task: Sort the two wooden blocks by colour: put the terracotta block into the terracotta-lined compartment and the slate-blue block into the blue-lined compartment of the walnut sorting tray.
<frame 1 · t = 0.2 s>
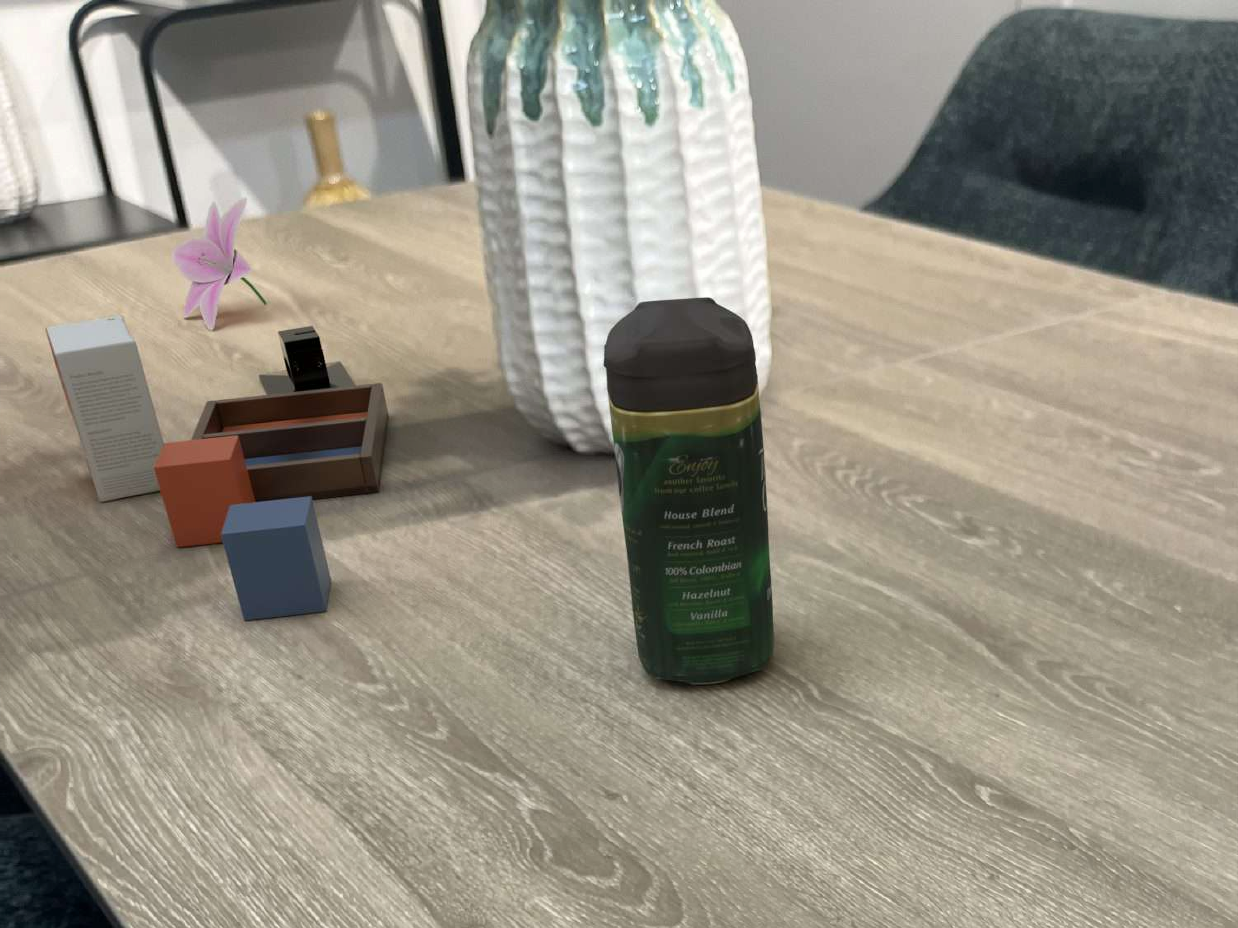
coffee jar: (708, 656, 98), on the table
terracotta block: (218, 530, 118), on the table
small box: (133, 482, 128), on the table
blue block: (288, 600, 108), on the table
lily: (228, 316, 164), on the table
sorting tray: (292, 461, 129), on the table
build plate: (311, 392, 143), on the table
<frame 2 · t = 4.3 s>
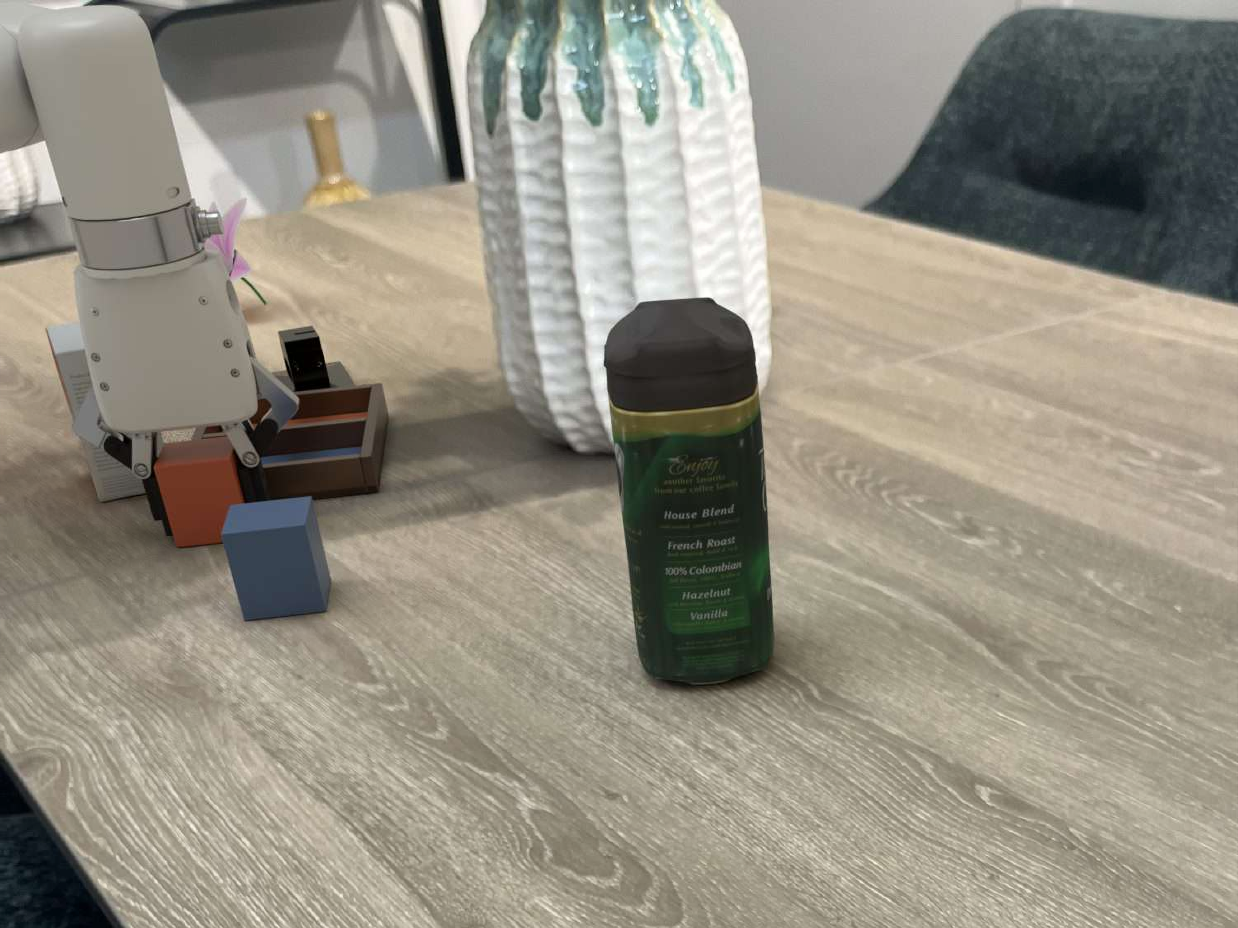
hand: (215, 521, 118), 1 cm above the table, tool pointing down, fingers closed on terracotta block, 5 cm apart
terracotta block: (218, 530, 118), on the table, touching gripper
everything else where it was.
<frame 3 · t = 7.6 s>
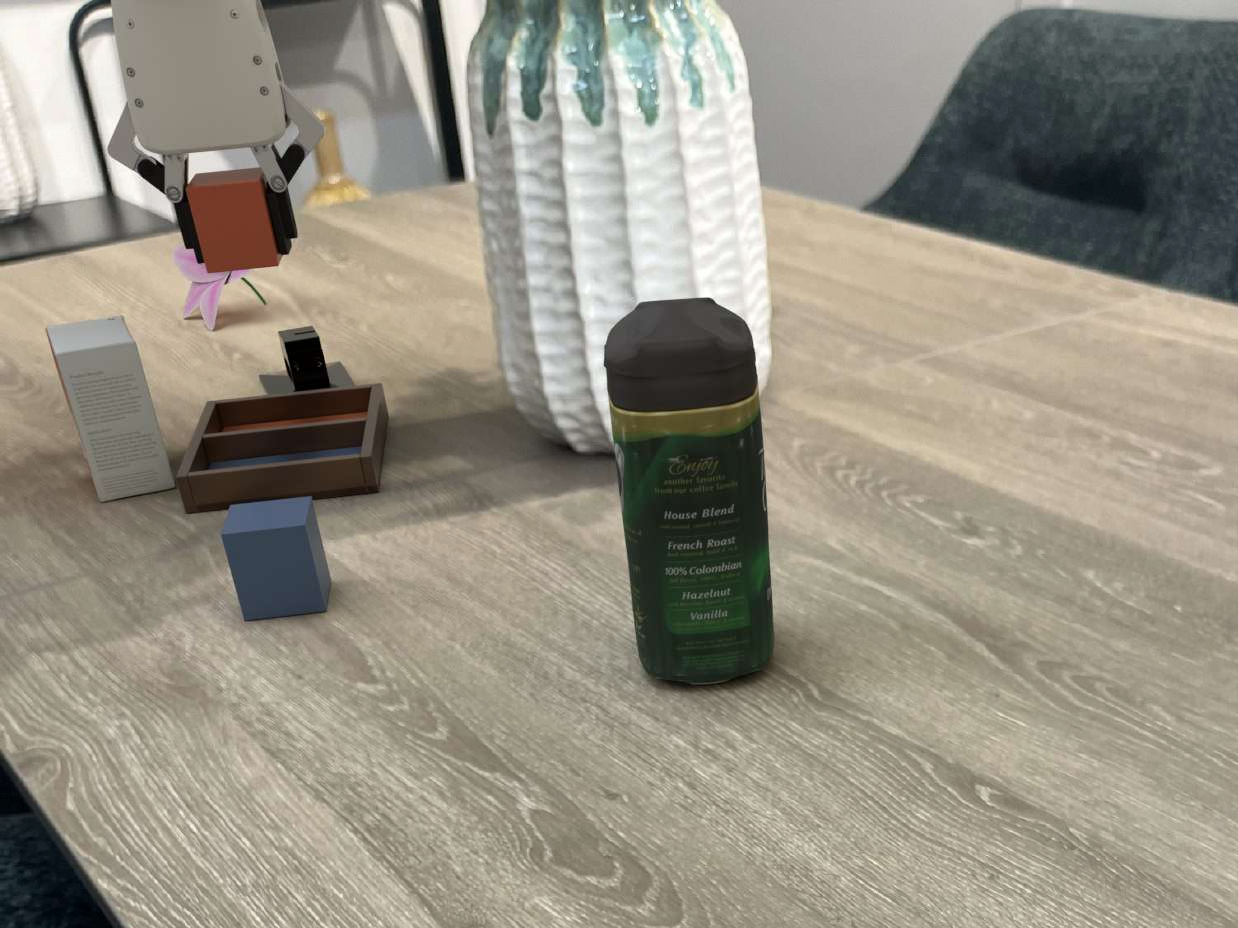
hand: (244, 251, 122), 14 cm above the table, tool pointing down, fingers closed on terracotta block, 5 cm apart
terracotta block: (247, 261, 122), point 13 cm above the table, touching gripper
everything else where it was.
when the fingers open (1 cm above the table, at t = 10.9 s): terracotta block stays where it is, resting on sorting tray.
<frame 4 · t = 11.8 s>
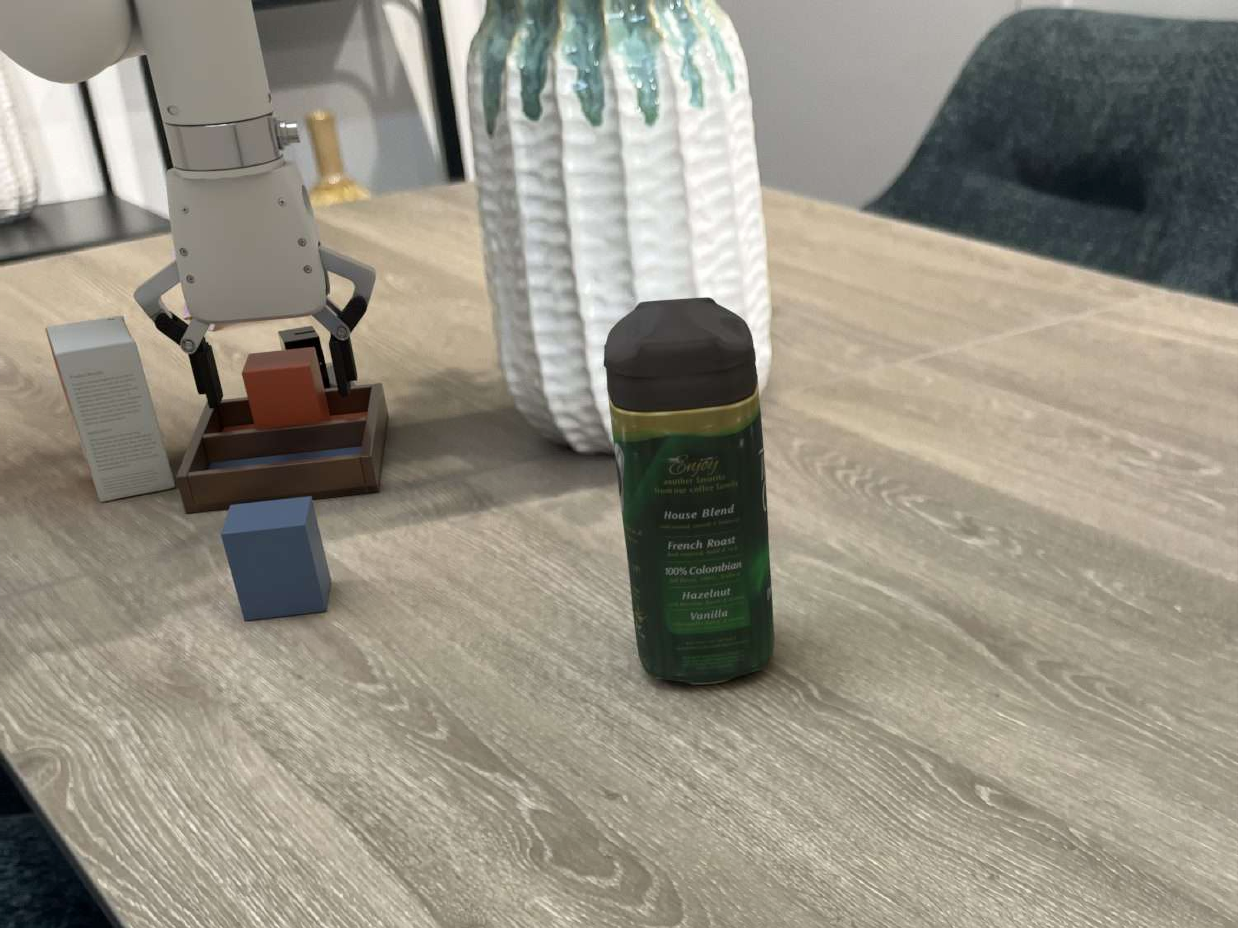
hand: (281, 397, 130), 4 cm above the table, tool pointing down, fingers open, 9 cm apart
terracotta block: (296, 433, 131), point 1 cm above the table, touching sorting tray
everything else where it was.
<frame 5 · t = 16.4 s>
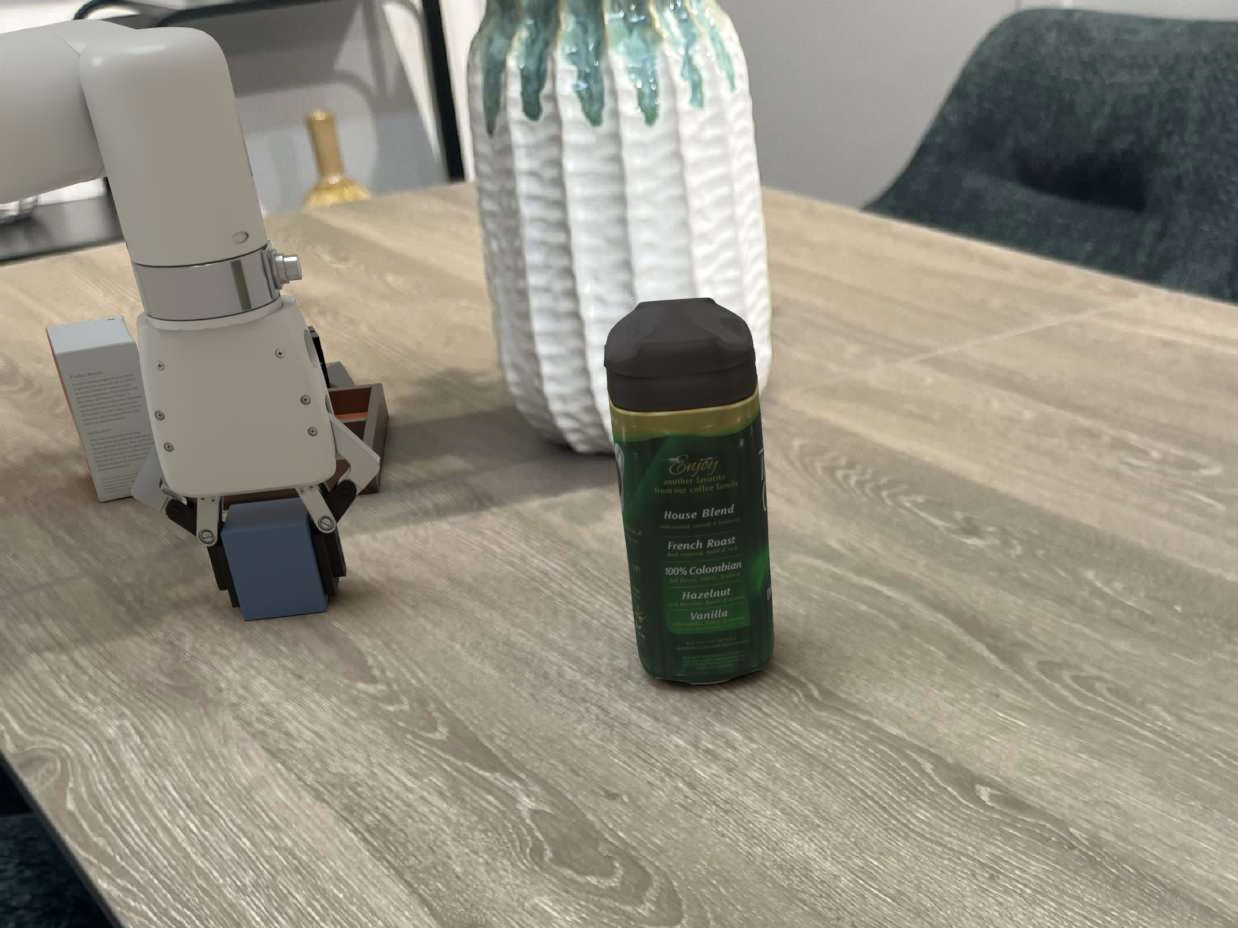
hand: (286, 590, 107), 1 cm above the table, tool pointing down, fingers closed on blue block, 5 cm apart
blue block: (288, 600, 108), on the table, touching gripper
everything else where it was.
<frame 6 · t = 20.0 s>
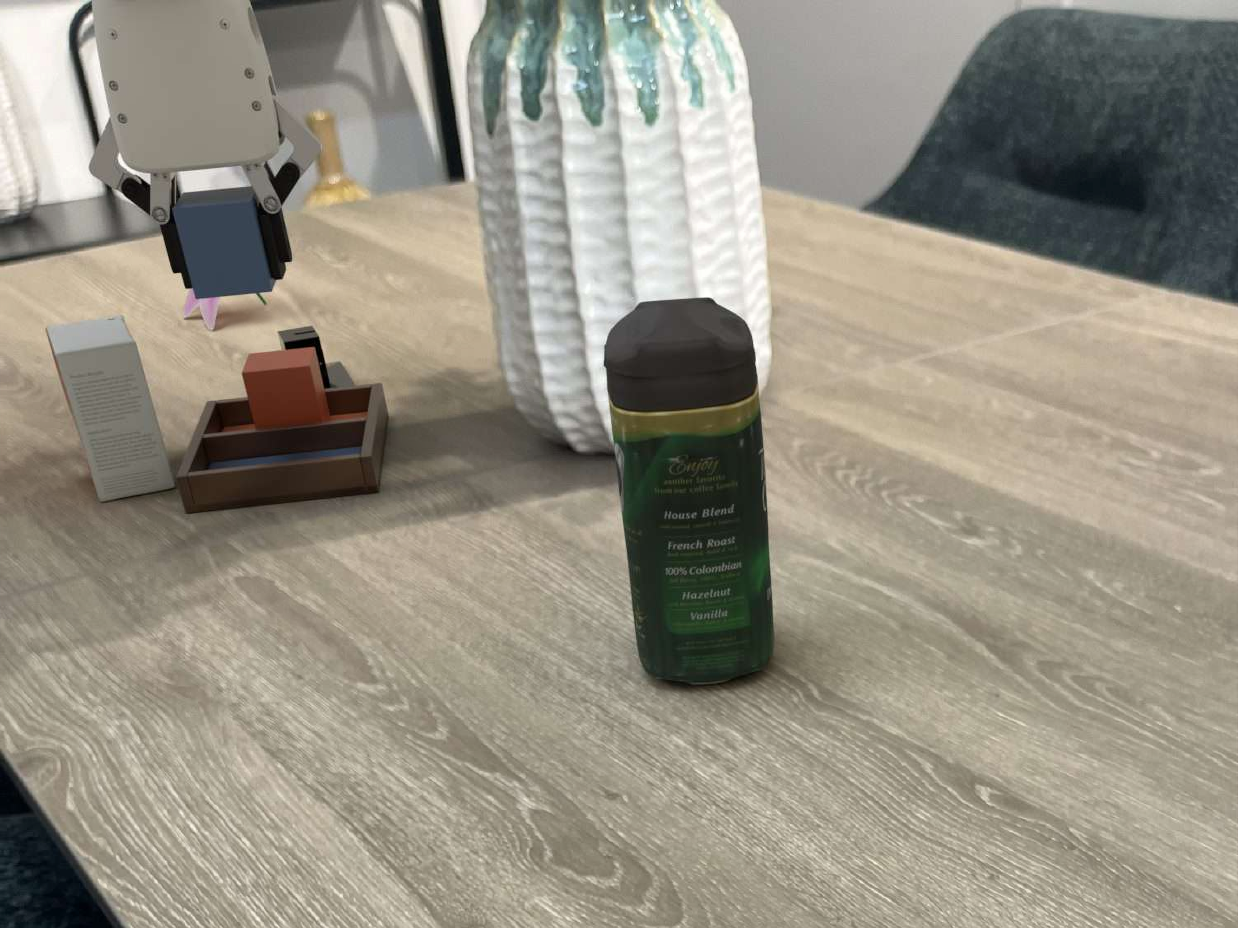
hand: (235, 276, 115), 15 cm above the table, tool pointing down, fingers closed on blue block, 5 cm apart
blue block: (238, 286, 115), point 14 cm above the table, touching gripper
everything else where it was.
when the fingers open (1 cm above the table, at t = 23.5 s): blue block stays where it is, resting on sorting tray.
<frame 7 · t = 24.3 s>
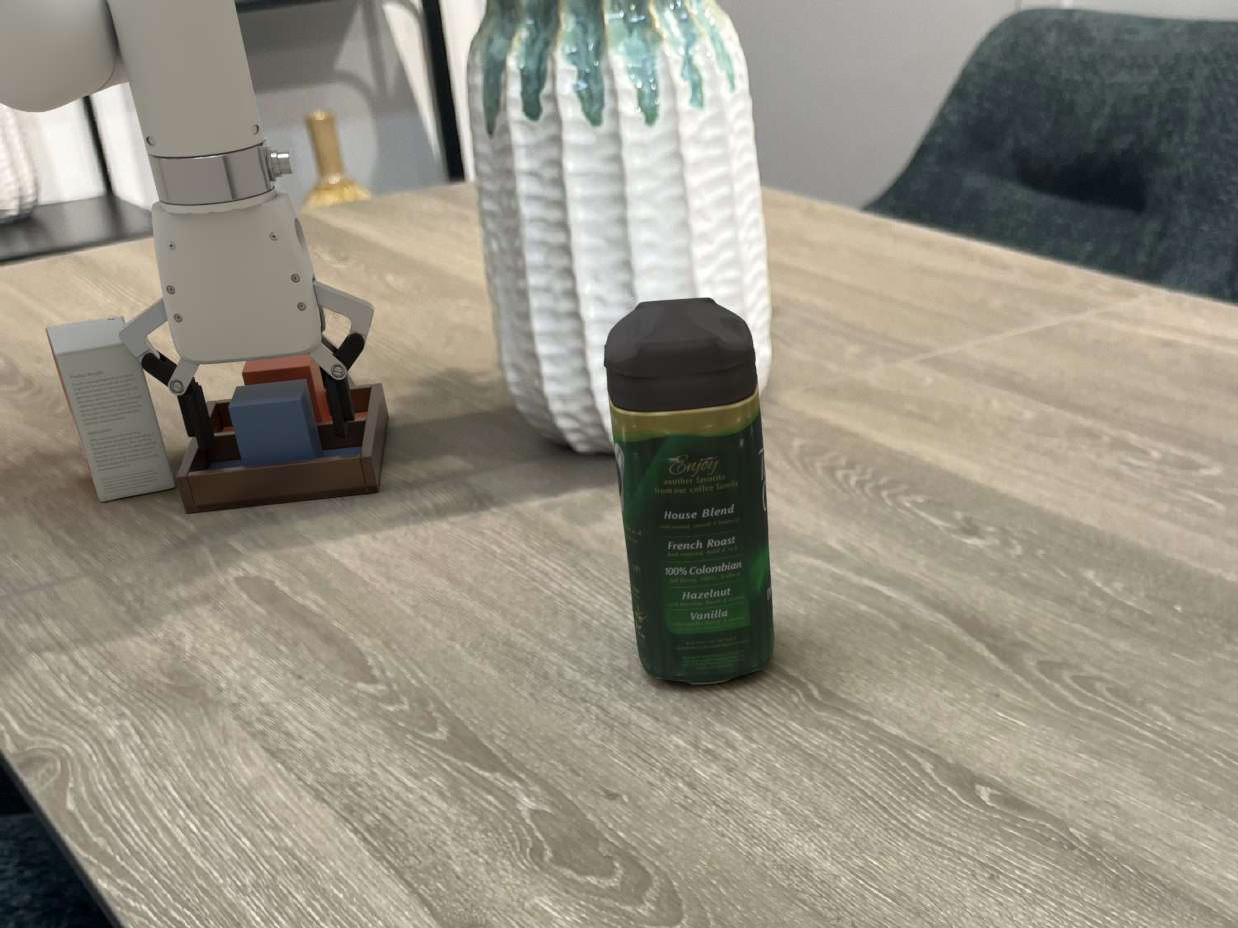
hand: (275, 438, 124), 3 cm above the table, tool pointing down, fingers open, 9 cm apart
blue block: (286, 469, 125), point 1 cm above the table, touching sorting tray
everything else where it was.
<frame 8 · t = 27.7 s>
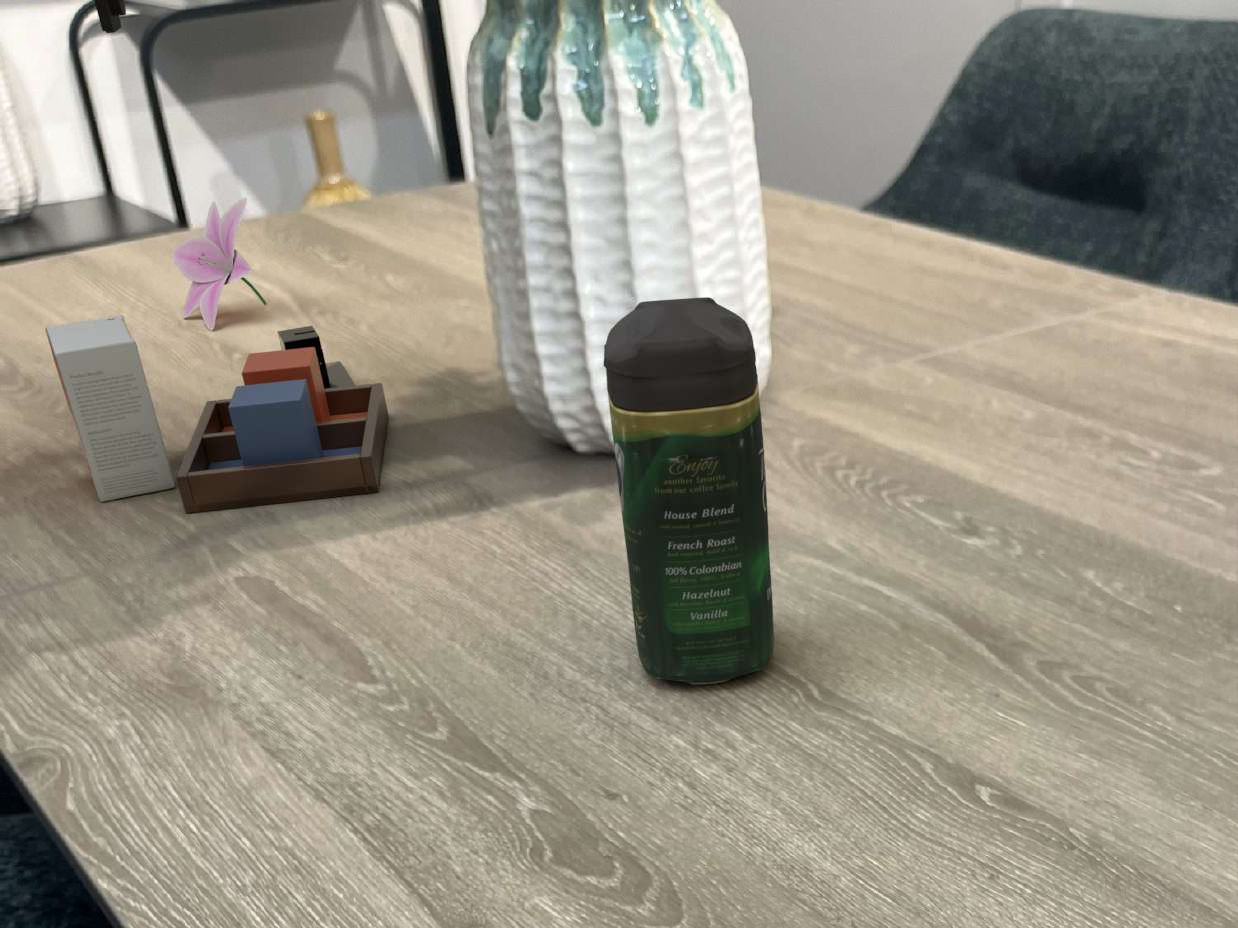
hand: (37, 36, 112), 28 cm above the table, tool pointing down, fingers open, 9 cm apart
nothing on the table moved.
at the end: terracotta block inside the target area on the sorting tray (0.2 cm from its centre), point 0.8 cm above the sorting tray's base; blue block inside the target area on the sorting tray (0.2 cm from its centre), point 0.8 cm above the sorting tray's base; terracotta block tilted 0° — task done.
